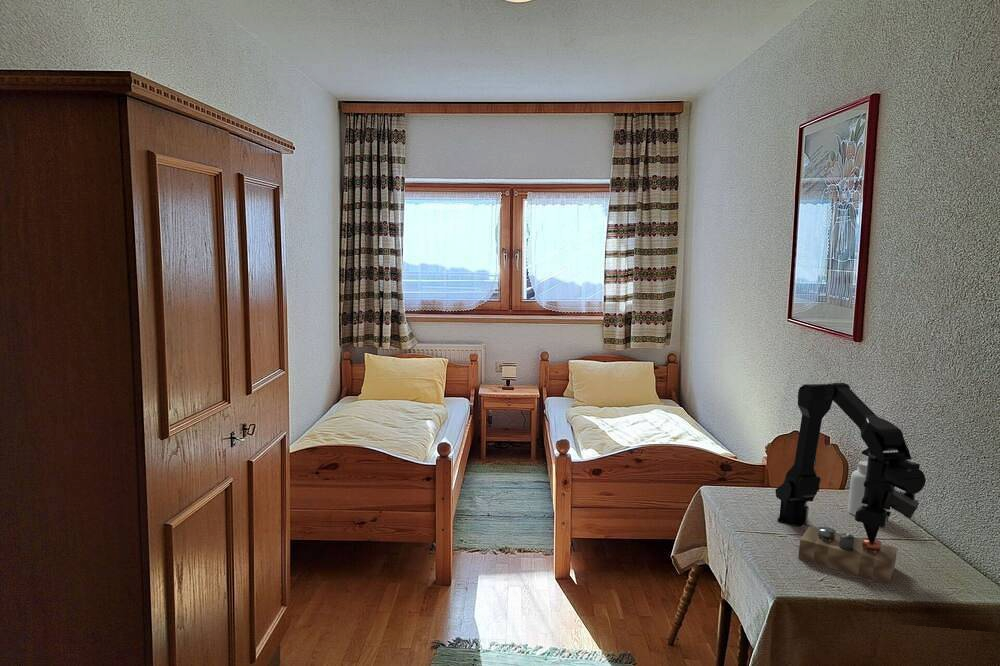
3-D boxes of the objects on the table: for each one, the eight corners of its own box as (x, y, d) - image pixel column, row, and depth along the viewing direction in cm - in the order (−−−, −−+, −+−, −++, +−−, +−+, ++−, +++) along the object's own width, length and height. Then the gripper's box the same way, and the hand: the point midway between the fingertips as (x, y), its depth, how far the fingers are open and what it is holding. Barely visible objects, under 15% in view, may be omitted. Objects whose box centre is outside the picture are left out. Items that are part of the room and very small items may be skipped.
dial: (838, 548, 176) (839, 535, 175) (840, 544, 178) (841, 531, 178) (851, 551, 174) (853, 538, 174) (853, 547, 176) (855, 534, 176)
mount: (798, 558, 181) (800, 539, 180) (807, 544, 189) (809, 526, 188) (889, 583, 170) (891, 563, 169) (894, 567, 178) (897, 548, 177)
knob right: (858, 569, 176) (861, 541, 175) (860, 563, 179) (864, 536, 178) (876, 574, 174) (880, 546, 173) (879, 568, 177) (882, 540, 176)
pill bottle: (868, 508, 216) (874, 459, 213) (883, 519, 208) (889, 468, 205) (842, 508, 215) (847, 458, 213) (856, 519, 207) (862, 467, 205)
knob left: (813, 557, 182) (816, 530, 180) (817, 552, 185) (820, 525, 184) (831, 562, 179) (834, 534, 178) (834, 556, 183) (837, 529, 182)
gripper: (914, 498, 161) (905, 565, 163) (922, 475, 176) (914, 537, 179) (858, 486, 167) (850, 551, 170) (871, 465, 182) (863, 525, 185)
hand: (871, 541), depth 175 cm, fingers closed, pressing on knob right
